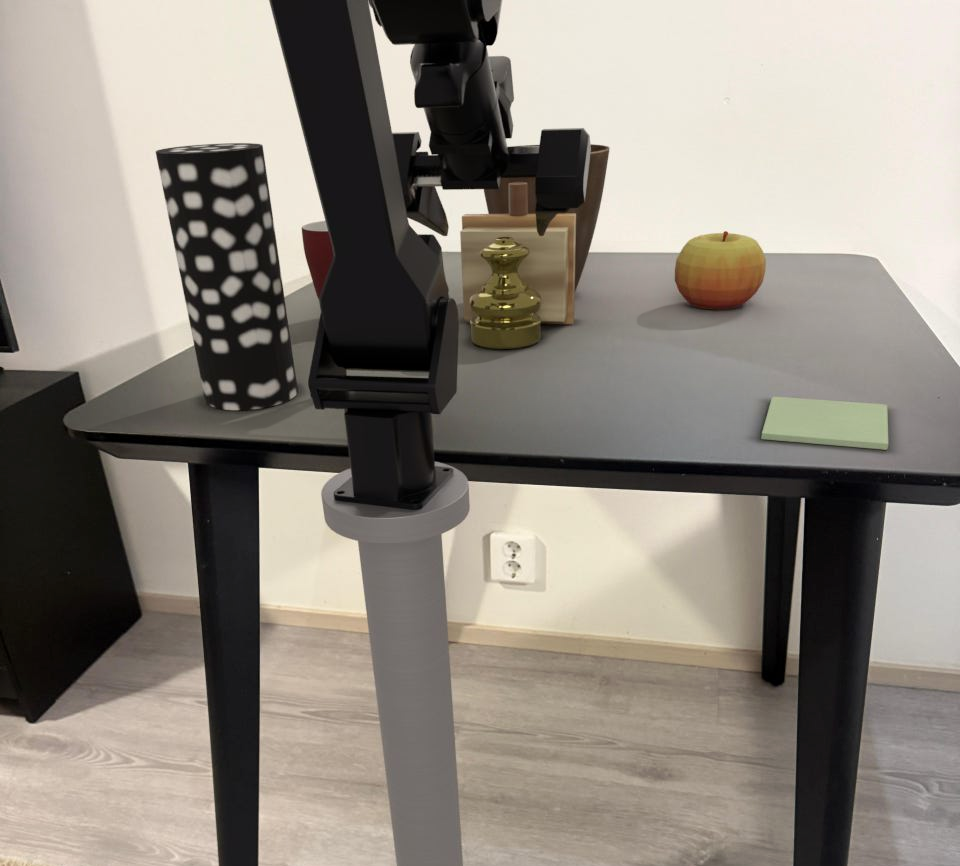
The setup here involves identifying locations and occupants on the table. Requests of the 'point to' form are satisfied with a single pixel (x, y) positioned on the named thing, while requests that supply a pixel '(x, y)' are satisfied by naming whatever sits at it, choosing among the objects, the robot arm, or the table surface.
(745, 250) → the apple
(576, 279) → the flower pot
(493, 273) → the brass chess piece
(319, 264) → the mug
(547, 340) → the table surface
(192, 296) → the spotted tube
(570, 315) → the wooden napkin holder
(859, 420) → the mat
